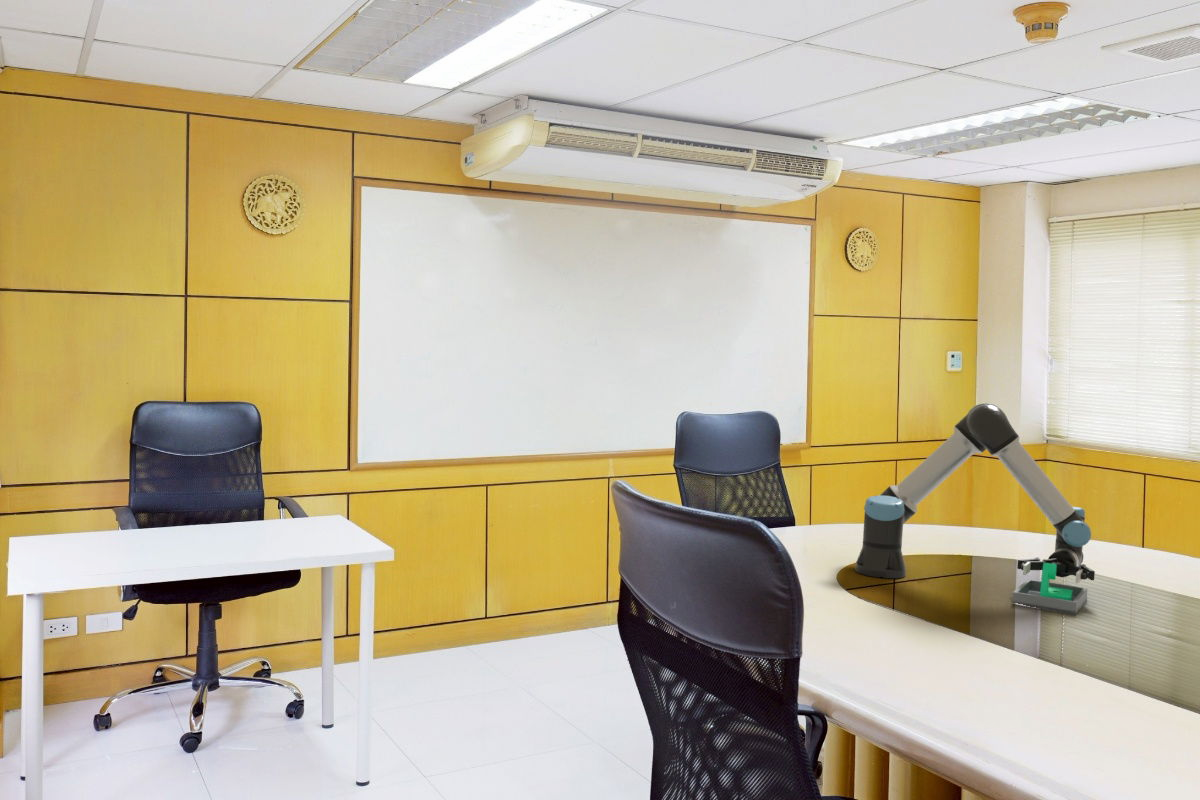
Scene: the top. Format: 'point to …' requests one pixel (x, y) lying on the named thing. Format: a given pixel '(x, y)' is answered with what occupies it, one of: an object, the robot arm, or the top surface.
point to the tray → (1031, 597)
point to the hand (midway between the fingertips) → (1050, 574)
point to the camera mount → (1052, 592)
